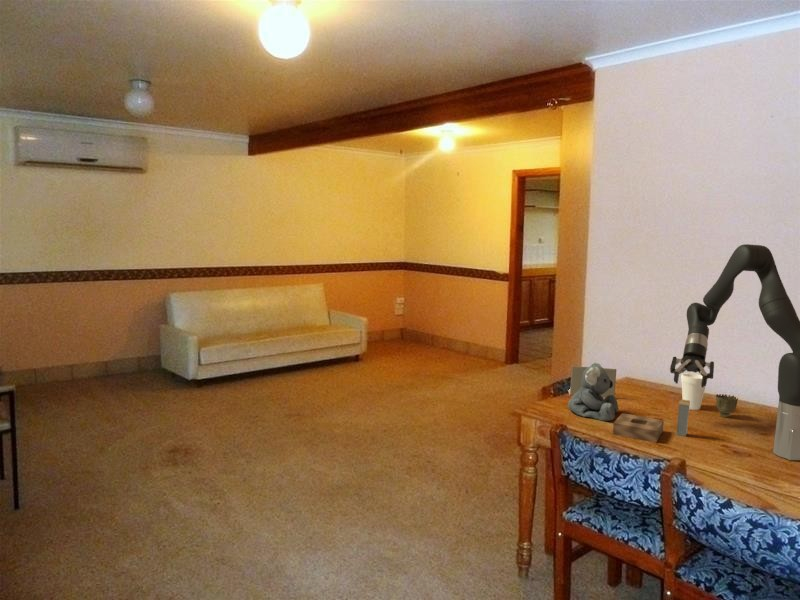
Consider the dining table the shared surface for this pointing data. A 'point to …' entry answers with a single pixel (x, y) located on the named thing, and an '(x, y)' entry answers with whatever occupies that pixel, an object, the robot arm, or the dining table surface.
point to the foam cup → (692, 389)
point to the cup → (726, 404)
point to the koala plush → (594, 395)
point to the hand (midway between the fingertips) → (689, 384)
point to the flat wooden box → (638, 427)
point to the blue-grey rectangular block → (683, 417)
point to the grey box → (577, 378)
